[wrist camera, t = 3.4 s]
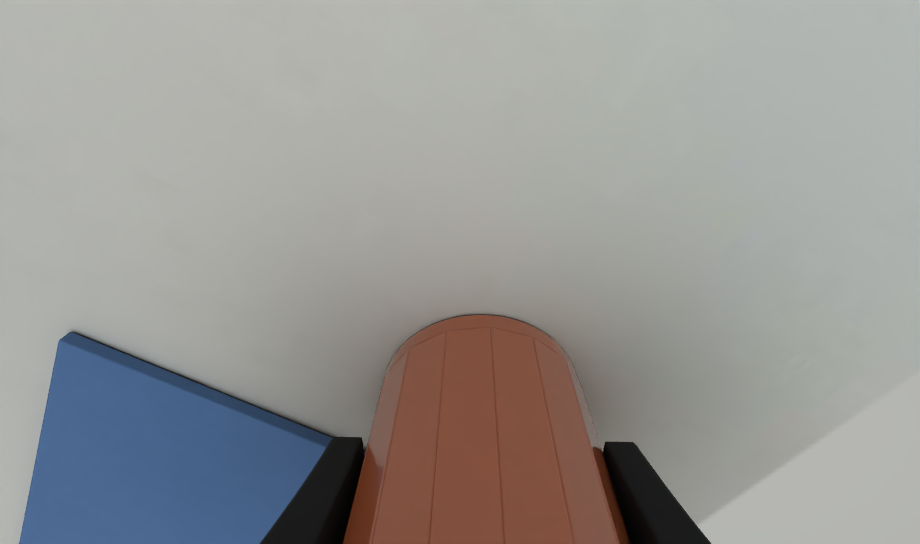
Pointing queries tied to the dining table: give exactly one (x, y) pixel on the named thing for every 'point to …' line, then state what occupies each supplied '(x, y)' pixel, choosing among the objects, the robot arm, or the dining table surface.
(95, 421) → the towel
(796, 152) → the dining table surface
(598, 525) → the cup
